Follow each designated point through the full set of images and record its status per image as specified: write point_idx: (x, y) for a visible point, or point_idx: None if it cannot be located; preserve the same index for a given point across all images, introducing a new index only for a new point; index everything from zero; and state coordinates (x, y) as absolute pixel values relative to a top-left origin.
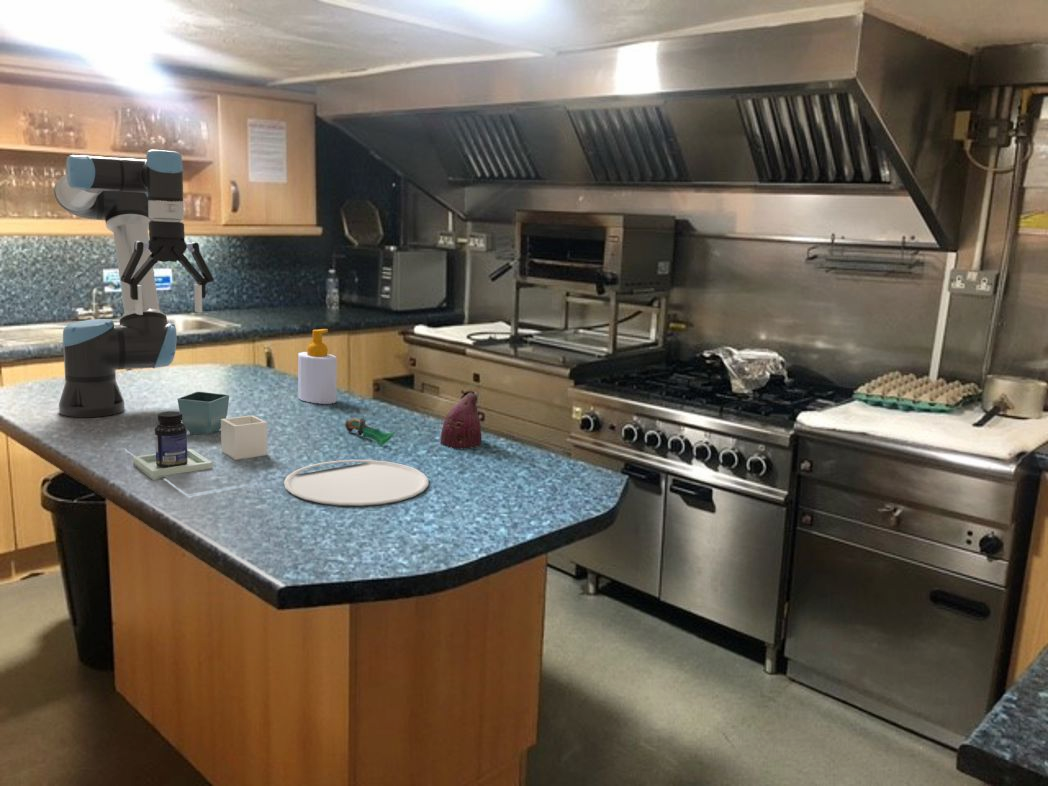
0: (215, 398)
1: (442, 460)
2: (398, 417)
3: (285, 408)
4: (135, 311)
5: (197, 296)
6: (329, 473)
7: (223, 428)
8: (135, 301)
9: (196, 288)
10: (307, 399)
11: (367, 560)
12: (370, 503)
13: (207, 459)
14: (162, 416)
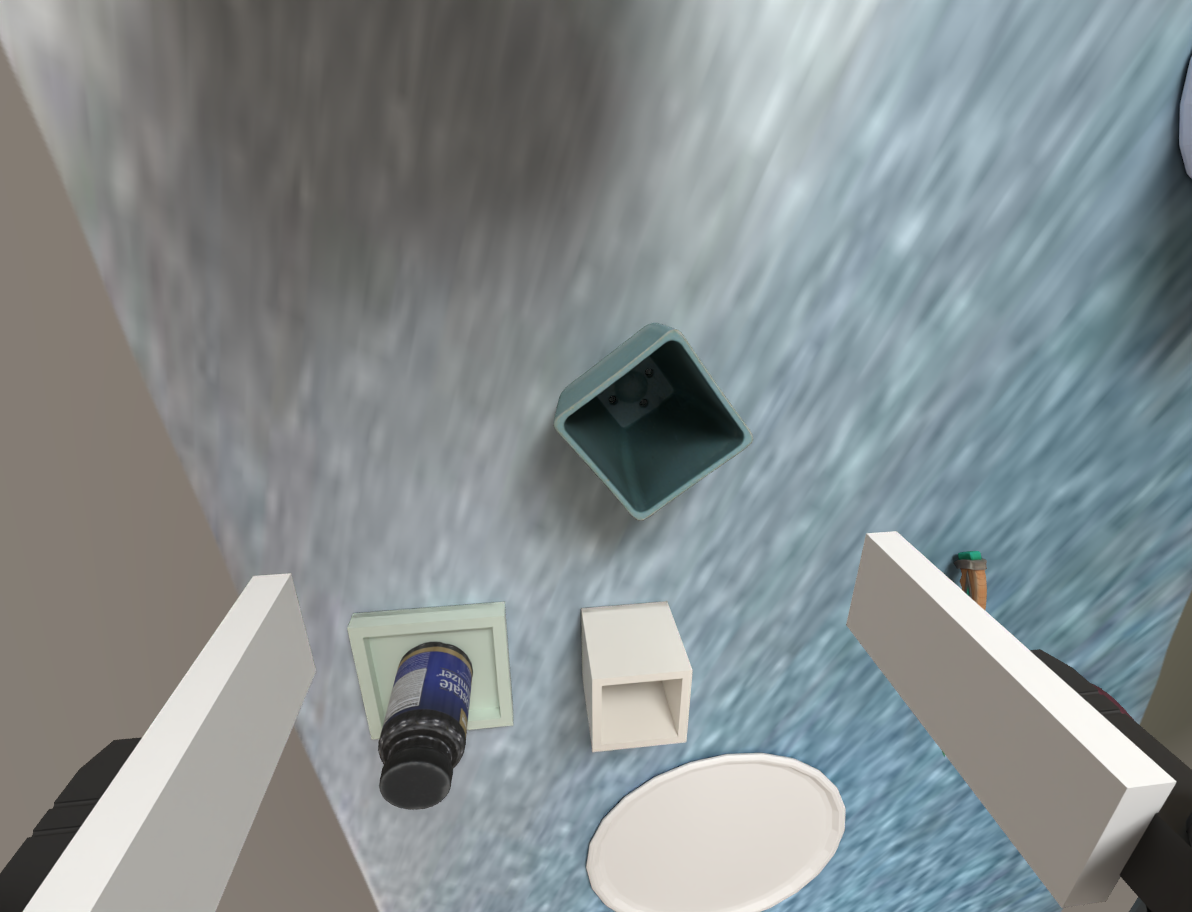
0: (712, 394)
1: (932, 790)
2: (1179, 471)
3: (1041, 172)
4: (245, 589)
5: (954, 722)
6: (707, 794)
7: (589, 675)
8: (191, 688)
9: (1041, 794)
10: (1188, 109)
11: None
12: None
13: (511, 704)
14: (388, 800)
